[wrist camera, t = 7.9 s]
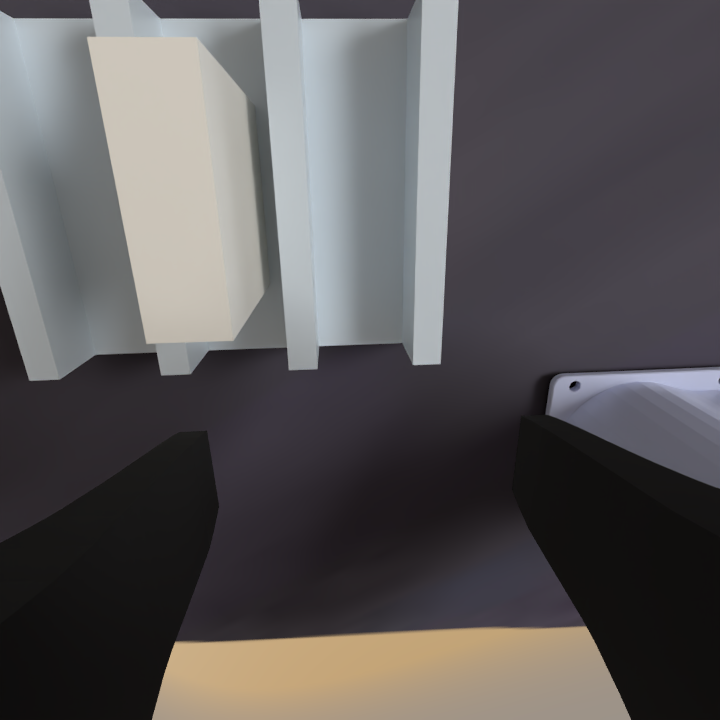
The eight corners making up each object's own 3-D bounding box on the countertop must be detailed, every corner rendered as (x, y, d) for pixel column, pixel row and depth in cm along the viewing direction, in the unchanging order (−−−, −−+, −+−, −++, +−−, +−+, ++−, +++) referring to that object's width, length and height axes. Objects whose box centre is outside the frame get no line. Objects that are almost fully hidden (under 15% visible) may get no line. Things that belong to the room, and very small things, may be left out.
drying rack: (434, 29, 15) (462, -15, 12) (424, 334, 19) (443, 363, 16) (-2, 29, 14) (-97, -18, 11) (80, 347, 18) (26, 381, 15)
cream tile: (255, 105, 15) (196, 37, 8) (270, 284, 17) (233, 340, 10) (194, 105, 15) (87, 36, 8) (217, 285, 17) (146, 343, 10)
